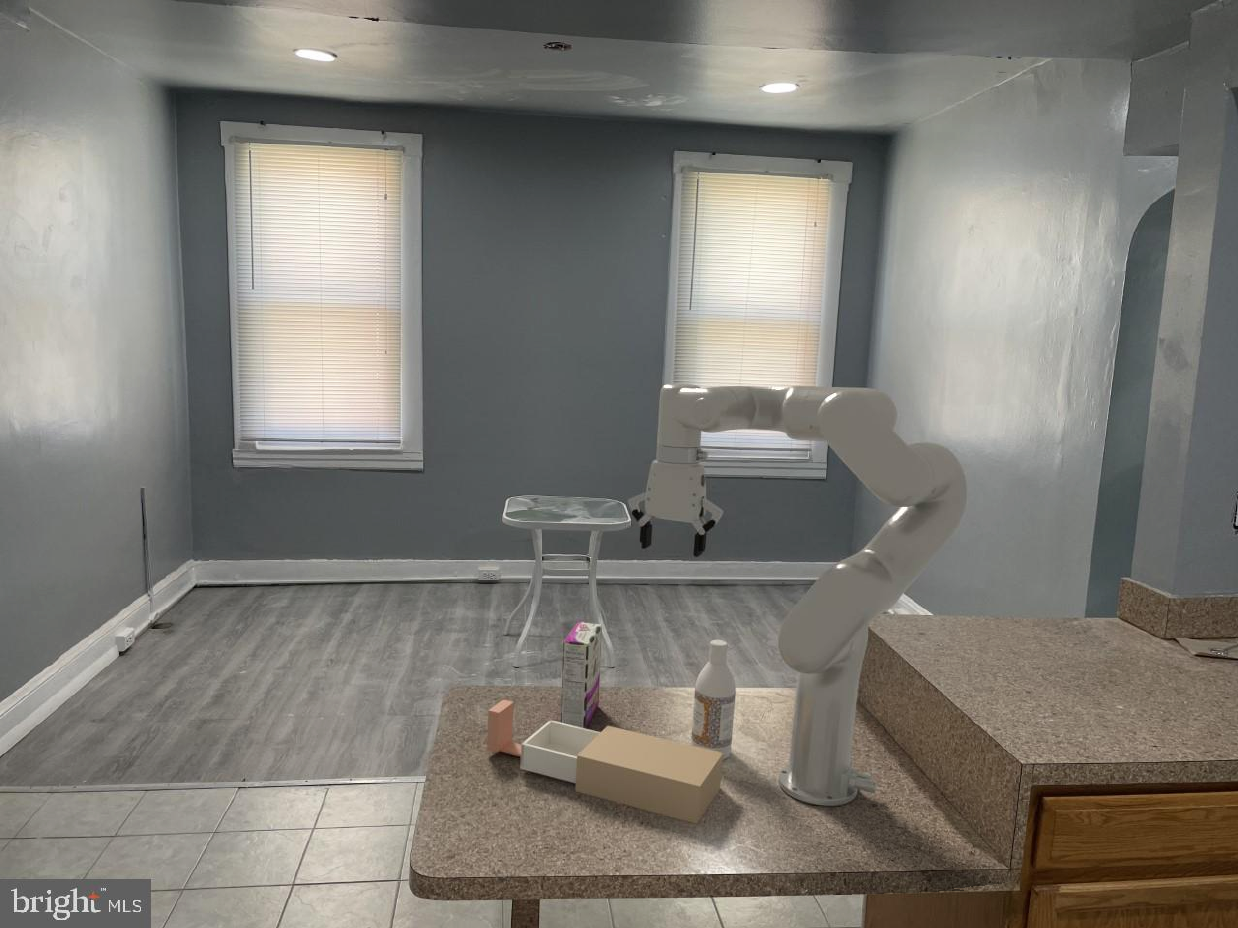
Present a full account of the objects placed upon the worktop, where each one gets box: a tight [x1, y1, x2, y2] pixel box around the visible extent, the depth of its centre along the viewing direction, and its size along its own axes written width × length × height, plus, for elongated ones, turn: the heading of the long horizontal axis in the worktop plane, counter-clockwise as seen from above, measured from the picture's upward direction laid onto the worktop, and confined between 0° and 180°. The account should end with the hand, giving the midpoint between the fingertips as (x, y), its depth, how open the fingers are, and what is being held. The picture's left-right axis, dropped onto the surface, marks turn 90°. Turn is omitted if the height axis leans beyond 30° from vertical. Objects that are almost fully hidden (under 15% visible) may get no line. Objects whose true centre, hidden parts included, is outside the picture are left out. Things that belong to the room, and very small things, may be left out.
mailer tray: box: [486, 699, 602, 784], centre depth 152 cm, size 27×10×7 cm, turn 67°
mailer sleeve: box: [574, 725, 723, 825], centre depth 147 cm, size 20×12×6 cm, turn 67°
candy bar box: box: [560, 621, 603, 729], centre depth 171 cm, size 11×5×16 cm, turn 168°
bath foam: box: [690, 639, 737, 761], centre depth 159 cm, size 7×7×20 cm
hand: (671, 551), depth 164 cm, fingers open, 9 cm apart
